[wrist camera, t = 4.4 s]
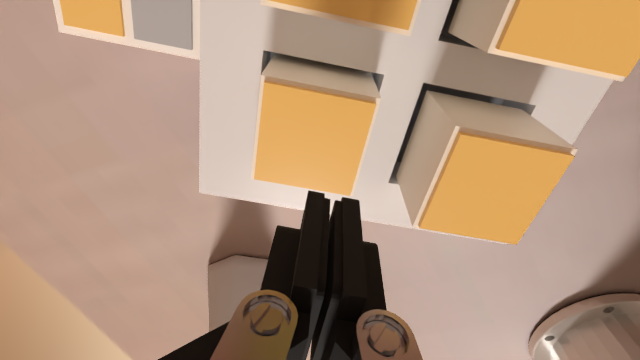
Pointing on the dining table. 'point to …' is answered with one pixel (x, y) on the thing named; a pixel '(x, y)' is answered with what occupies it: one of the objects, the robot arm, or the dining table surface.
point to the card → (135, 23)
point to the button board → (392, 83)
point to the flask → (232, 285)
